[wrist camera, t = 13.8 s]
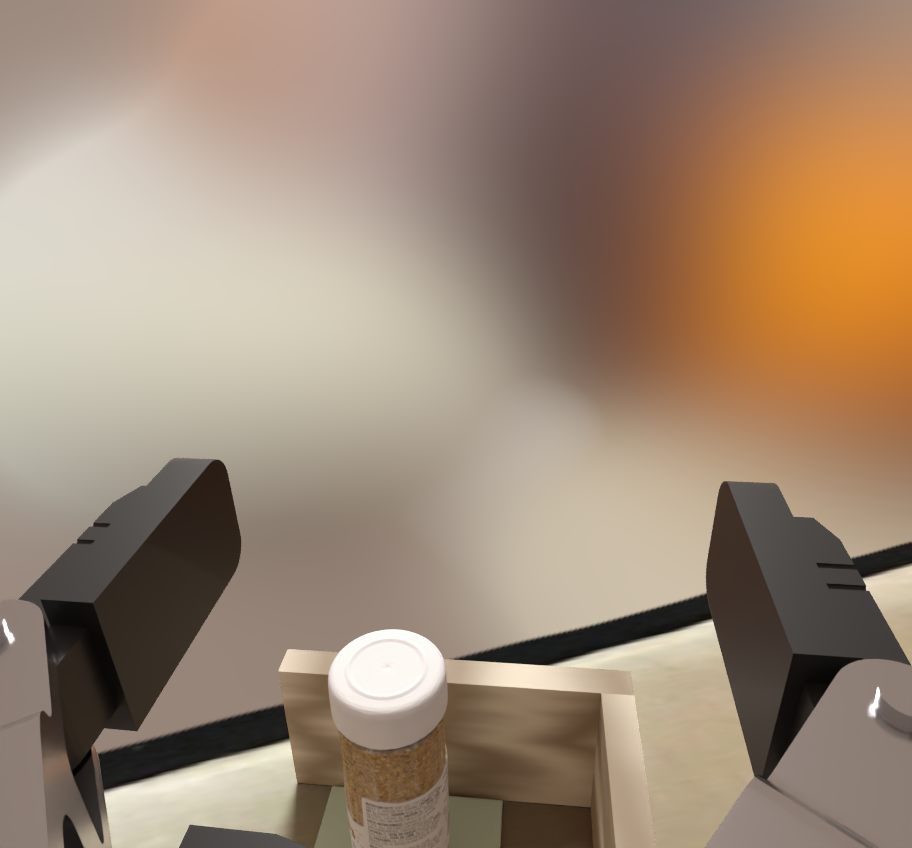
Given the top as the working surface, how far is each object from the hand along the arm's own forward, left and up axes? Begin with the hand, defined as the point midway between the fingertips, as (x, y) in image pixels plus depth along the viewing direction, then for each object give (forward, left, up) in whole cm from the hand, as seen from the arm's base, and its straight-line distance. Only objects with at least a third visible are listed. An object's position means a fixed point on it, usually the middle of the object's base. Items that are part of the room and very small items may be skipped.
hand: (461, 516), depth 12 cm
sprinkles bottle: (+4, -10, -27) cm, 30 cm away
